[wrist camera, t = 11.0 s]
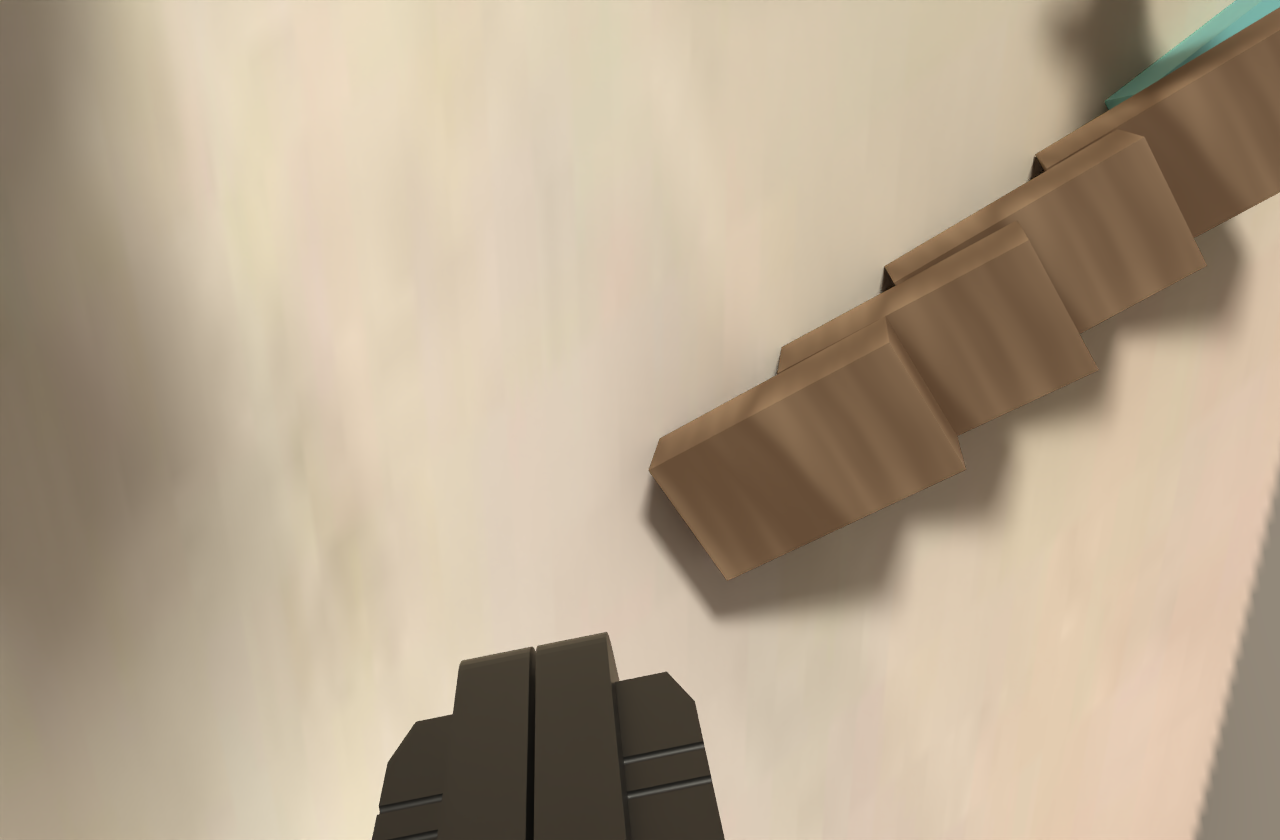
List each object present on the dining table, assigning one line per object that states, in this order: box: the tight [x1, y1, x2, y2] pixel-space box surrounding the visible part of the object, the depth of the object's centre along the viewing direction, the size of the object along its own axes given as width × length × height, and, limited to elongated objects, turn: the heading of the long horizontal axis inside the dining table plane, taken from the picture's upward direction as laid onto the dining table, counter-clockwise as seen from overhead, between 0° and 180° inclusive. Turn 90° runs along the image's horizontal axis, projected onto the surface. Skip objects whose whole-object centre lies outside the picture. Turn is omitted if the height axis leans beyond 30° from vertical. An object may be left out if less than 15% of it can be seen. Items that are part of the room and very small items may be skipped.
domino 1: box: [649, 317, 966, 581], centre depth 34 cm, size 2×5×9 cm
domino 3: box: [885, 129, 1207, 334], centre depth 35 cm, size 2×5×9 cm
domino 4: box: [1104, 0, 1280, 110], centre depth 39 cm, size 2×5×9 cm
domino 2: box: [777, 220, 1099, 436], centre depth 34 cm, size 2×5×9 cm
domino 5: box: [1035, 7, 1280, 238], centre depth 36 cm, size 2×5×9 cm
